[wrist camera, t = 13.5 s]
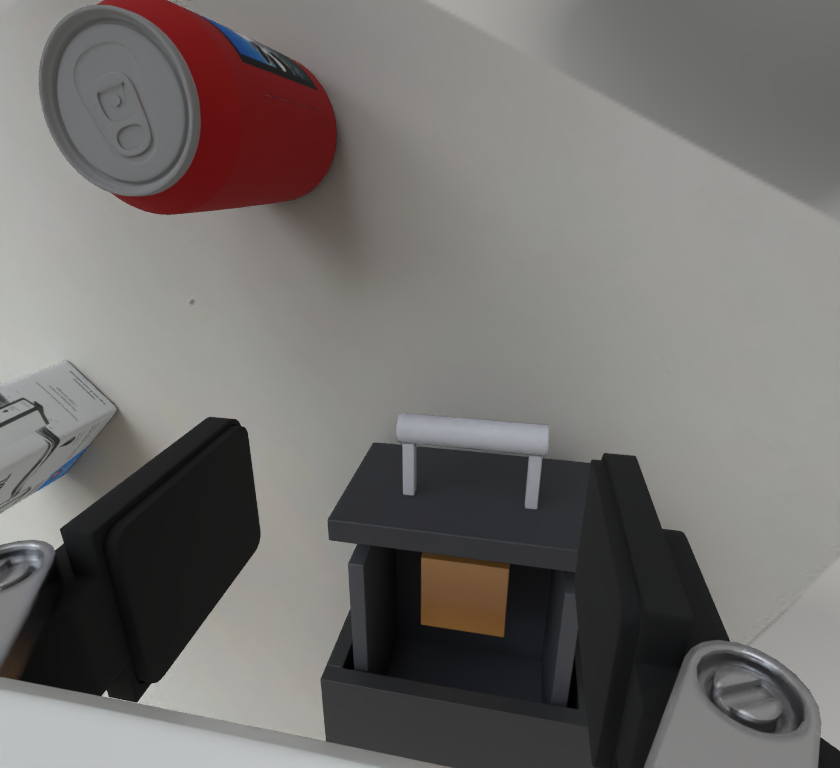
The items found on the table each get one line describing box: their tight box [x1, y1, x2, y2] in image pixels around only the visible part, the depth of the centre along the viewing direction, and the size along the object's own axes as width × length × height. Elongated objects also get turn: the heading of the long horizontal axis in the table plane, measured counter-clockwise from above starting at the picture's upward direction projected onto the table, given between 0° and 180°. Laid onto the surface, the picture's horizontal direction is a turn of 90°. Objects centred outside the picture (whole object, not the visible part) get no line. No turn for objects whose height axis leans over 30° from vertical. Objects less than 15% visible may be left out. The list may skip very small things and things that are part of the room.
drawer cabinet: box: [321, 608, 593, 768], centre depth 34 cm, size 16×14×10 cm
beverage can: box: [39, 0, 337, 215], centre depth 22 cm, size 7×7×12 cm
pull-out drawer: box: [328, 413, 591, 707], centre depth 29 cm, size 19×13×8 cm, turn 0°
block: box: [421, 552, 510, 637], centre depth 30 cm, size 4×4×4 cm
